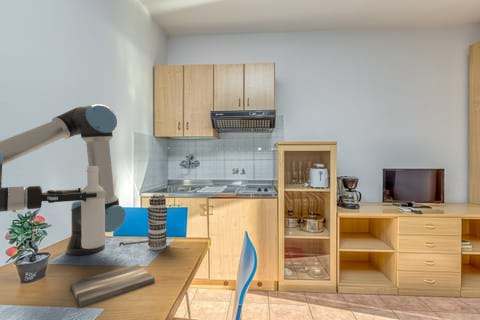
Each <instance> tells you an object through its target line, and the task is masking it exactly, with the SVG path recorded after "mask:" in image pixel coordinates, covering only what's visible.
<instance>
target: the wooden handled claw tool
mask: <svg viewBox="0 0 480 320" xmlns="http://www.w3.org/2000/svg"><path fill="white" fill-rule="evenodd" d="M144 243H149V242H148V239H147V240H140V241H139V240H138V241H131V242H130V241H129V242H123V241H122V242H119V244H118V247H121V246H122V247H125V246H128V245H134V244H135V245H136V244H144Z"/></svg>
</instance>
